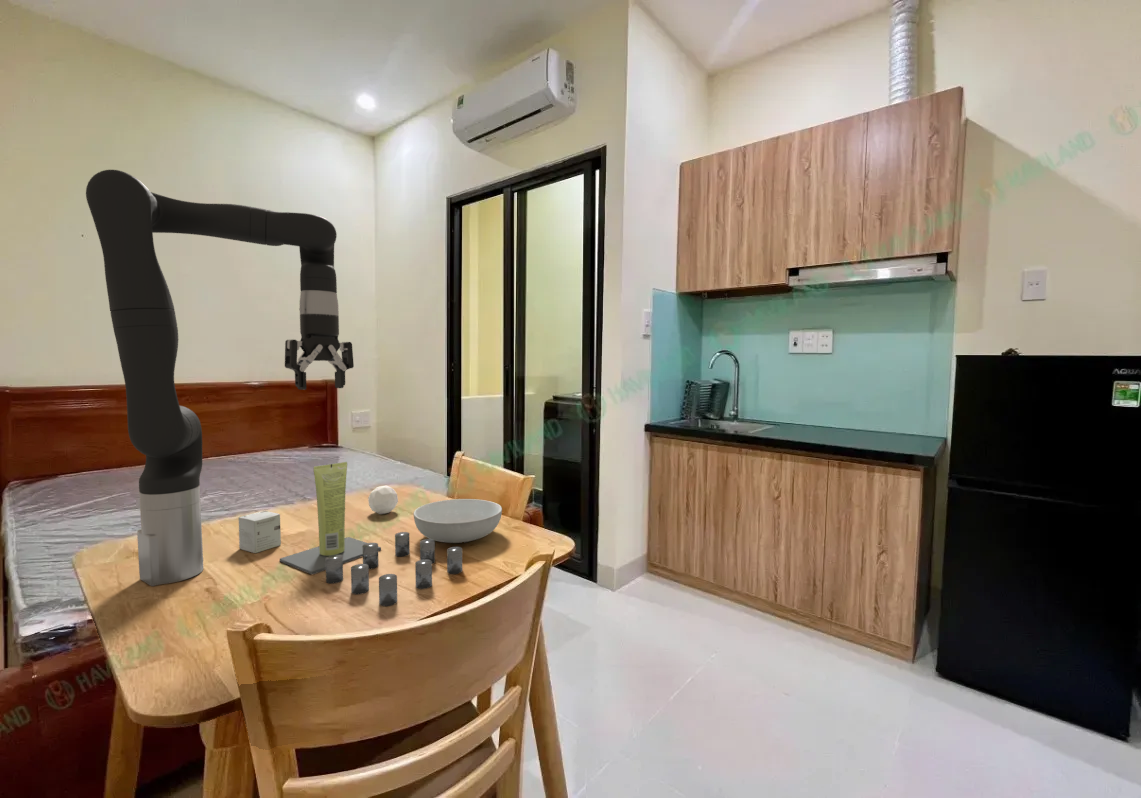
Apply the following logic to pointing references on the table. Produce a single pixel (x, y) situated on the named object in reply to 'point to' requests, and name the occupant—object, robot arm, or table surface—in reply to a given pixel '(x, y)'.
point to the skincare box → (259, 531)
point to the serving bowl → (457, 519)
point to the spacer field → (390, 580)
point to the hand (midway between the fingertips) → (321, 388)
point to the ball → (383, 499)
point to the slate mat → (323, 557)
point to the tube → (331, 507)
